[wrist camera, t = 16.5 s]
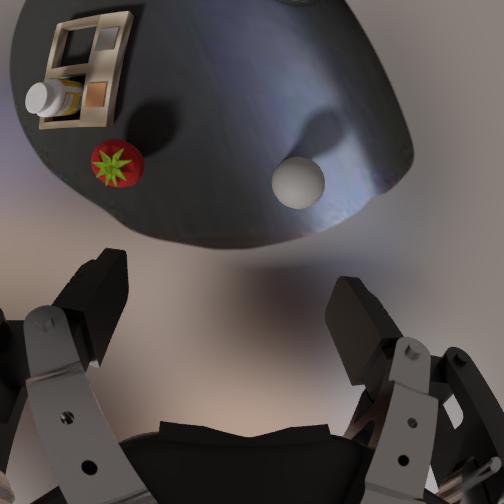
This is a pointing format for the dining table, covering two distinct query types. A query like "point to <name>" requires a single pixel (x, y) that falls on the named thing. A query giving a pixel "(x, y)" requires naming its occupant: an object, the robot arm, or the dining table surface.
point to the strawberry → (117, 163)
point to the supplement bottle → (55, 98)
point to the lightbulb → (298, 182)
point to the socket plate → (92, 67)
